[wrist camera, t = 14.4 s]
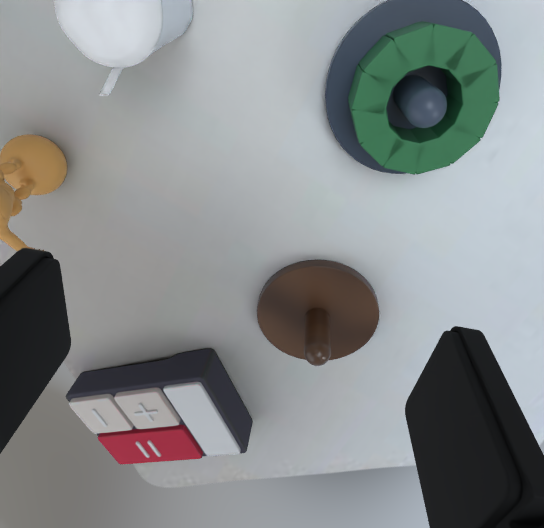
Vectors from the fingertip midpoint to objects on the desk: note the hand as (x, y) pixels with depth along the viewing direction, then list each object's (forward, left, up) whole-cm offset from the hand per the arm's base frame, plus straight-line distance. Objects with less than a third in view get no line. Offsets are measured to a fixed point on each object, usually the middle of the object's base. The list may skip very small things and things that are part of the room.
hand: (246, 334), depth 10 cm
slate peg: (-4, +7, -20) cm, 21 cm away
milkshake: (-5, -8, -20) cm, 23 cm away
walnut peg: (+14, +6, -20) cm, 25 cm away
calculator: (+29, -6, -20) cm, 36 cm away
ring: (-4, +7, -19) cm, 21 cm away
